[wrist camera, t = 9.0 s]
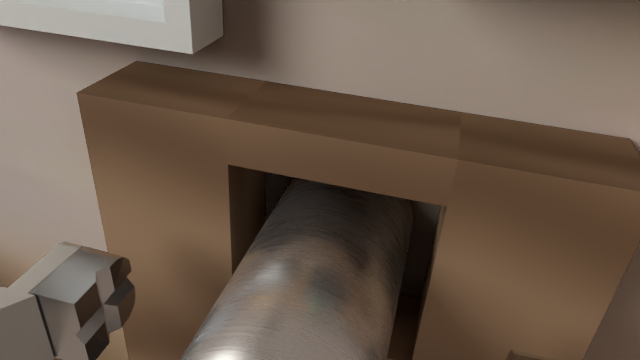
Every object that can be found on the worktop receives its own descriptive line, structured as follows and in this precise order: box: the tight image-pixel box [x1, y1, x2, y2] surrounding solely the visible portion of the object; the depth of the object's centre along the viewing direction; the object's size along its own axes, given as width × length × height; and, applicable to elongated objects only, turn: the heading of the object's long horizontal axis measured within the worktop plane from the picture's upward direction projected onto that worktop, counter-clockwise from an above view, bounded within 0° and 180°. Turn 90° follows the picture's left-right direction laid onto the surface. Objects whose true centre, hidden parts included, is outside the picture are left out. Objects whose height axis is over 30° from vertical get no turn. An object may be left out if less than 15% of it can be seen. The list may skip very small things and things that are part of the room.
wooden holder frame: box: [77, 61, 640, 360], centre depth 15 cm, size 14×12×2 cm
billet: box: [180, 177, 413, 360], centre depth 11 cm, size 4×4×8 cm
